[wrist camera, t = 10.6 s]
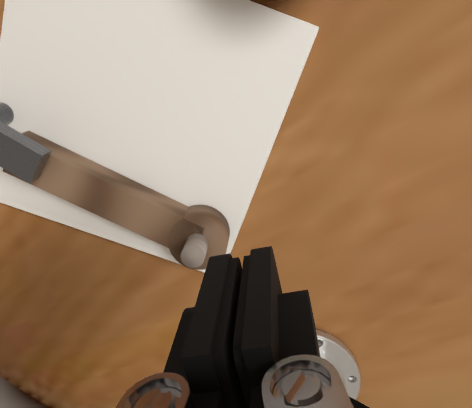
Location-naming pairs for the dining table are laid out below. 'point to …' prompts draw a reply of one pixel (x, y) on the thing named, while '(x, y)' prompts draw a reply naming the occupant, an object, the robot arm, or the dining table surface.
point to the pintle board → (151, 97)
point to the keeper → (20, 150)
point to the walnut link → (133, 205)
